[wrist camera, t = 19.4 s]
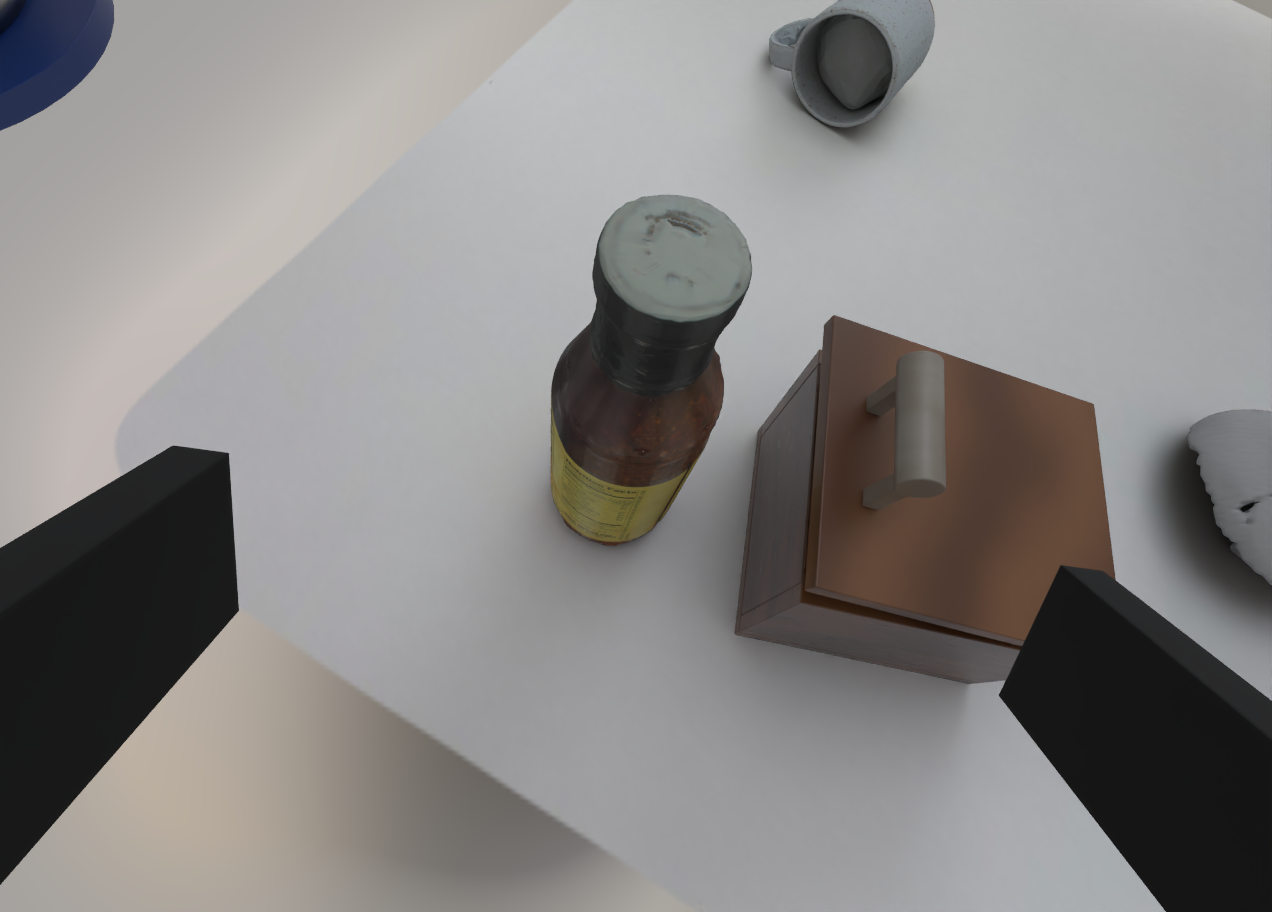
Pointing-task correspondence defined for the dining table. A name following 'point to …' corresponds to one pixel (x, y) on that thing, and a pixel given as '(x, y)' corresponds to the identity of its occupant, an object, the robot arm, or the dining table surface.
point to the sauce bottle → (645, 365)
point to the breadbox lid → (948, 486)
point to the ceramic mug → (854, 56)
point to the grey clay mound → (1239, 480)
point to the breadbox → (780, 560)
